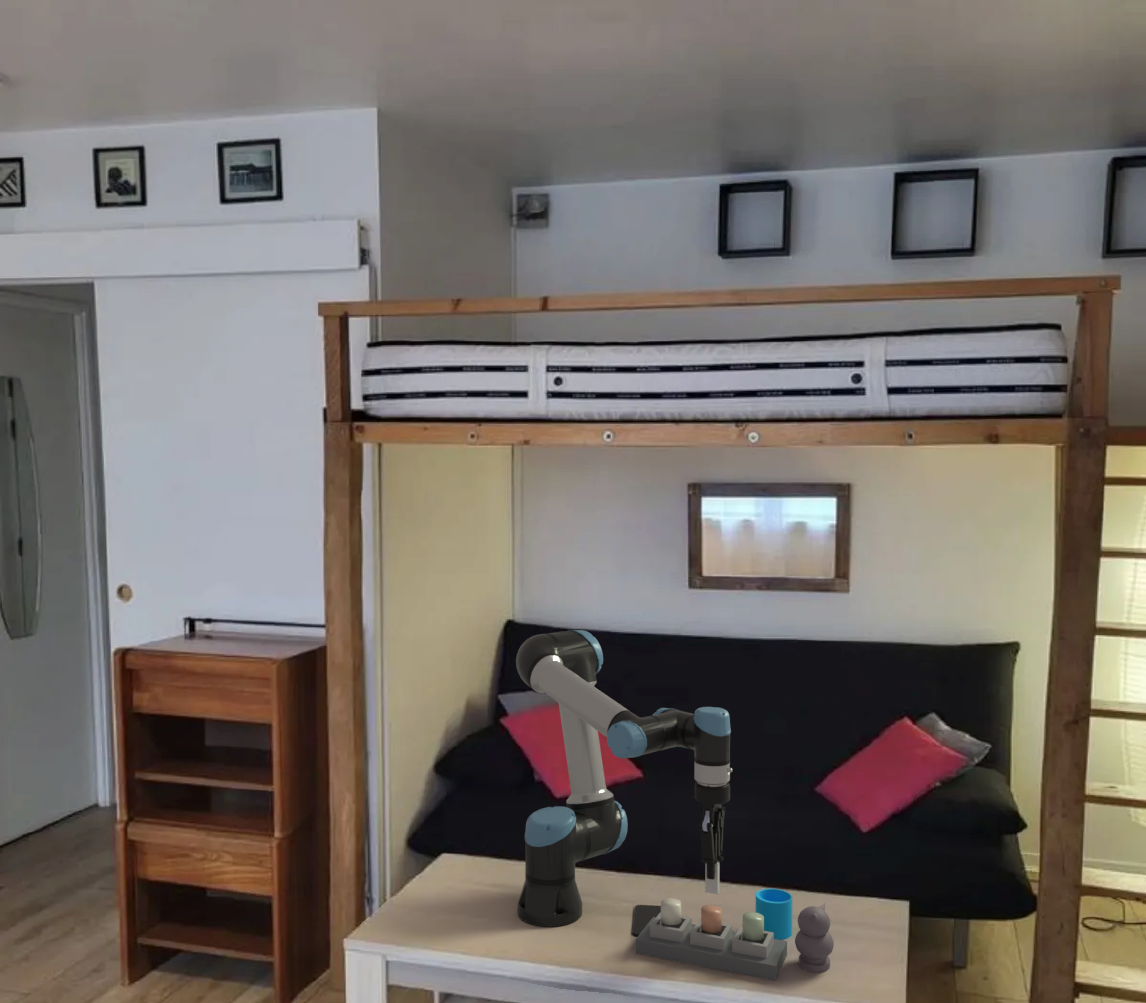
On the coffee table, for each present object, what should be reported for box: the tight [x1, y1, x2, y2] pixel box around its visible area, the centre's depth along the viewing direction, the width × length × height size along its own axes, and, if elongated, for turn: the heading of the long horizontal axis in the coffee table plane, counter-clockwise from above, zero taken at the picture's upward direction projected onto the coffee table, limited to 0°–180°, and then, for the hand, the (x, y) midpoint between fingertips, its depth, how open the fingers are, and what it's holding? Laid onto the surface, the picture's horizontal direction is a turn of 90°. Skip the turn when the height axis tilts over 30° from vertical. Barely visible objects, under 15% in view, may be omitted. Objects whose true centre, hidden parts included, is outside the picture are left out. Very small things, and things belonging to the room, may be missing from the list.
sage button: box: [742, 911, 764, 940], centre depth 210 cm, size 4×4×4 cm
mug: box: [755, 888, 793, 940], centre depth 226 cm, size 12×8×8 cm
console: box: [635, 912, 788, 981], centre depth 214 cm, size 30×12×5 cm, turn 67°
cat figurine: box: [794, 903, 835, 973], centre depth 209 cm, size 8×8×12 cm
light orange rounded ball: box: [700, 904, 723, 933], centre depth 214 cm, size 4×4×4 cm
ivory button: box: [660, 897, 682, 925], centre depth 217 cm, size 4×4×4 cm
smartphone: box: [631, 904, 661, 938], centre depth 230 cm, size 8×1×16 cm
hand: (712, 892), depth 213 cm, fingers closed
